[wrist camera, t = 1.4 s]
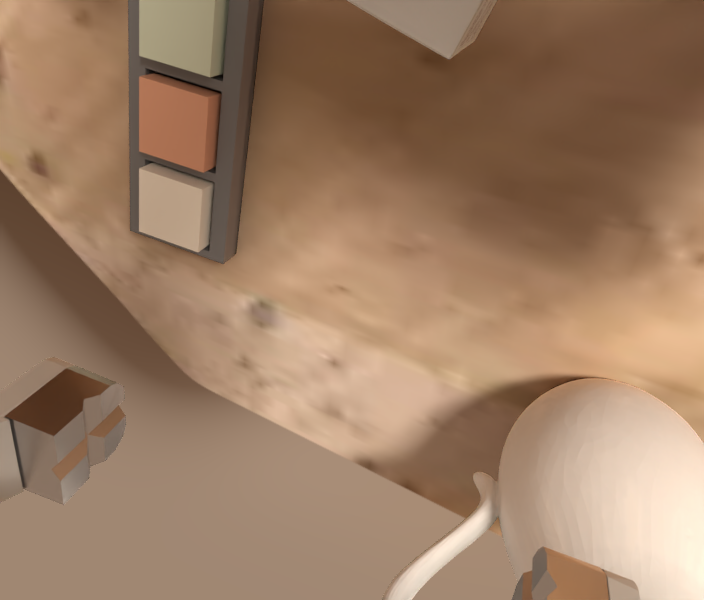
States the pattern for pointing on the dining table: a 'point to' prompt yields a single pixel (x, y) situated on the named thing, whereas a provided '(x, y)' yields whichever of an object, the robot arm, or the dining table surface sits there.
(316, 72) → the dining table surface
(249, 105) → the keypad
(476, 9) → the supplement box
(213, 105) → the key terracotta
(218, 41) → the key sage
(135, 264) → the dining table surface
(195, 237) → the key offwhite
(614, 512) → the pitcher
